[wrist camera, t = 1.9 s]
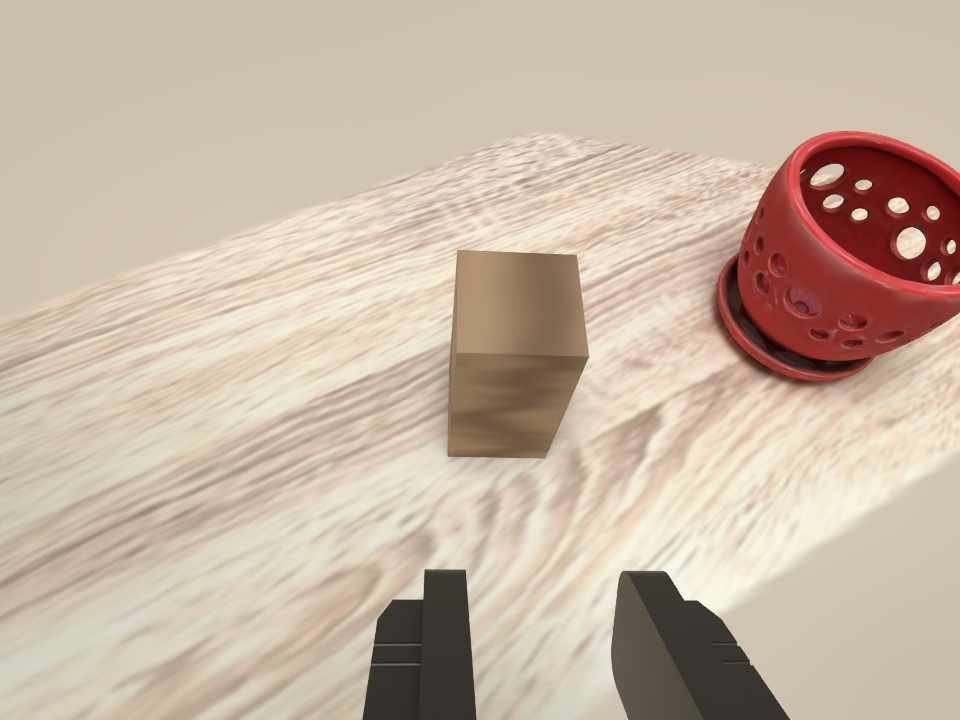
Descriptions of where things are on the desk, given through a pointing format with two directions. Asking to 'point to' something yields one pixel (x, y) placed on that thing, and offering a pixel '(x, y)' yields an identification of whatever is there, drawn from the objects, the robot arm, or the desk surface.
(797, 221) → the plant pot
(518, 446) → the walnut block
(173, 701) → the desk surface
